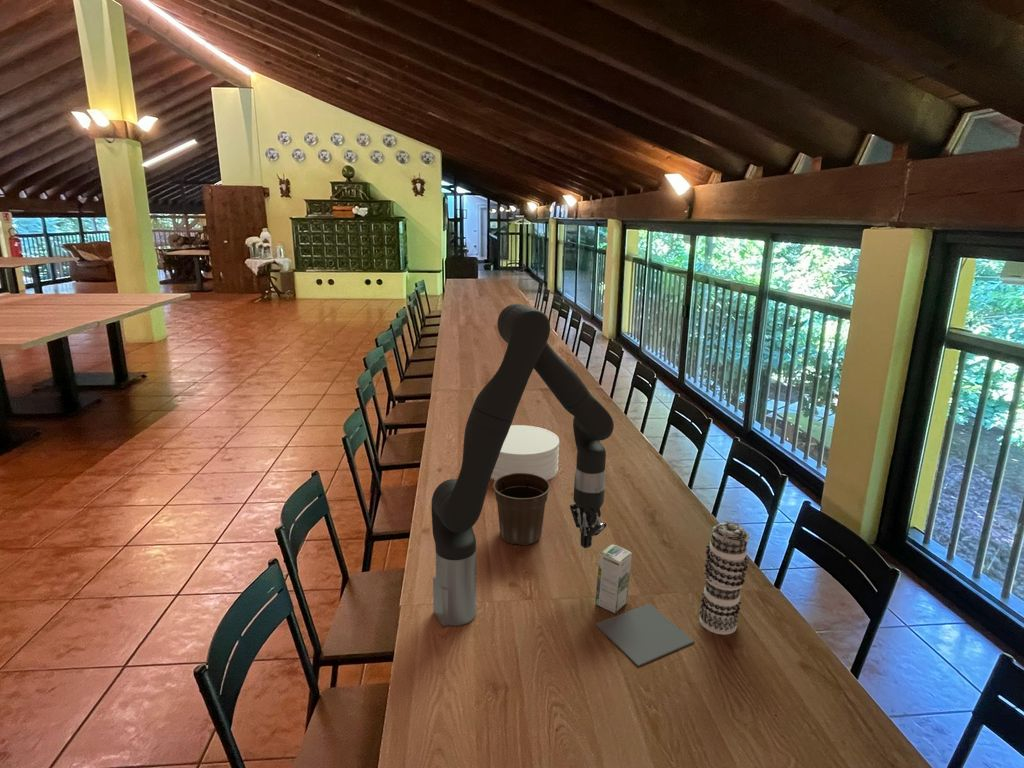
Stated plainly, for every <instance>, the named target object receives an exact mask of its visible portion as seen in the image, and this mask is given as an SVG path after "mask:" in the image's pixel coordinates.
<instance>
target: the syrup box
mask: <svg viewBox="0 0 1024 768" xmlns="http://www.w3.org/2000/svg"><path fill="white" fill-rule="evenodd" d="M632 555H633V553H632V552H631V551H629V550H628V549H626V548H623V547H622V546H618V545H616V544H610V545H609V546H608V547H606V548H605V549H604V550H602V551H601V552H599V557H598V559H599V560H598V569H597V570H598V571H597V578H596V579H597V581H596V592H595V593H596V594H595V605H597V606H599V607H601V608H603V609H604V610H606V611H609V612H610V613H613V614H617V613H618V612H619V611H620V610H621V609H622V608H623V607H624V606H625V605H626V604H627V603H628V594H629V585H630V575H631V566H632Z"/></svg>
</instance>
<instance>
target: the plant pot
mask: <svg viewBox="0 0 1024 768" xmlns="http://www.w3.org/2000/svg"><path fill="white" fill-rule="evenodd" d="M492 489H493V491H494V493H495V500H496V502H497V511H498V512H497V514H498V523H499V525H498V526H499V535H500V538H501V539H502V540H503V541H505V542H506V543H508V544H511V545H514V544H517V545H518V546H525V545H527V546H528V545H531V544H535V543H536V542H538V541H539V540H540V539H541V537H542V533H543V525H544V516H545V508H546V502H547V501H548V494H549V492H550V490H551V484H550V482H549V480H546V479H544V478H542V477H540V476H538V475H534V474H529V473H512V474H508V475H504V476H501V477H500V478H498V479H497V480H494V482H493V485H492Z"/></svg>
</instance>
